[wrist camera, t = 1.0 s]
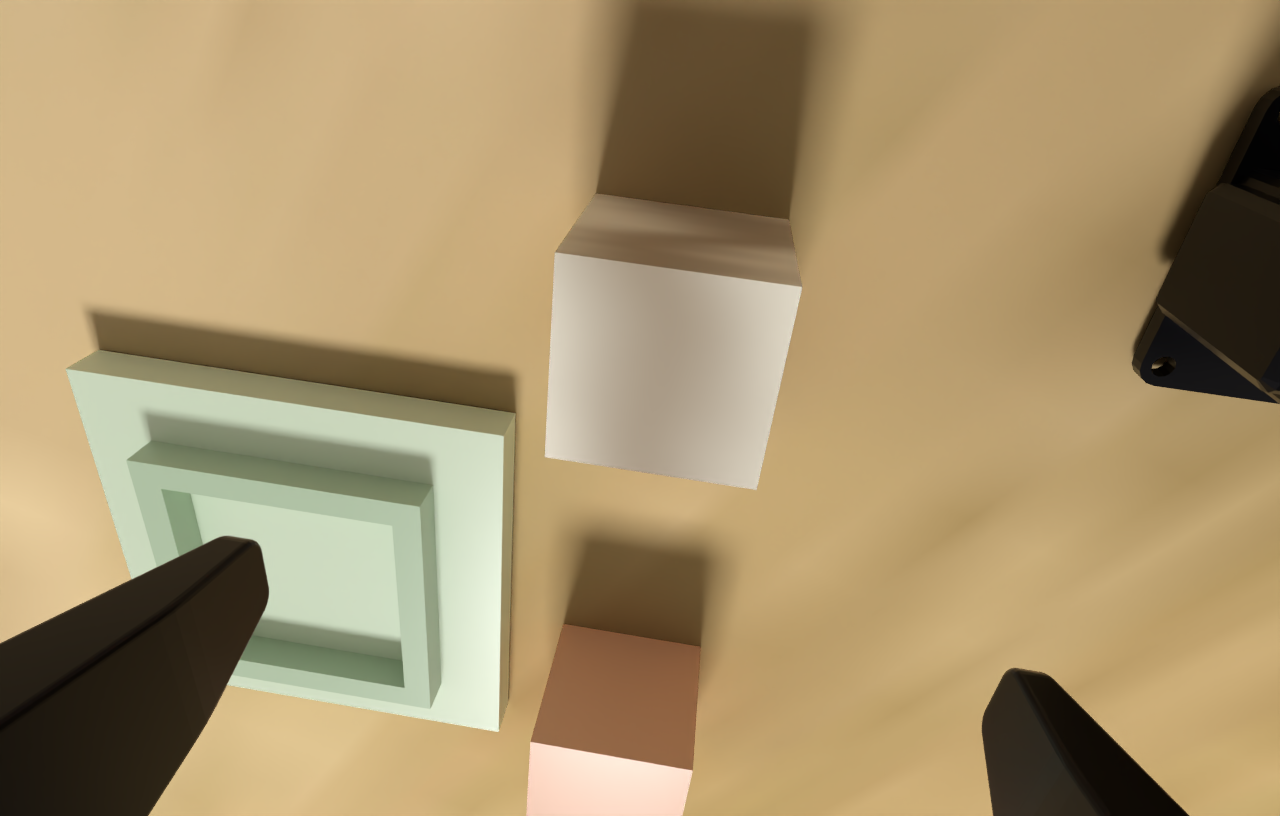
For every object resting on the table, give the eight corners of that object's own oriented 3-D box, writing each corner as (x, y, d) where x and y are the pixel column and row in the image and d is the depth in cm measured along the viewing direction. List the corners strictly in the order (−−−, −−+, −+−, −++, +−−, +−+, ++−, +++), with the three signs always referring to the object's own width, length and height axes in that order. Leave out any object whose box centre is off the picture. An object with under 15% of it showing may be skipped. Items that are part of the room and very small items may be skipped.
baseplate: (515, 413, 21) (492, 456, 19) (508, 702, 27) (490, 758, 25) (98, 349, 21) (35, 386, 19) (183, 647, 27) (141, 697, 25)
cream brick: (788, 218, 17) (802, 287, 13) (753, 389, 20) (756, 490, 16) (596, 192, 18) (554, 252, 14) (583, 363, 20) (544, 457, 16)
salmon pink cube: (700, 644, 24) (692, 770, 20) (682, 734, 27) (671, 863, 23) (564, 621, 25) (530, 741, 21) (556, 712, 27) (525, 836, 23)
